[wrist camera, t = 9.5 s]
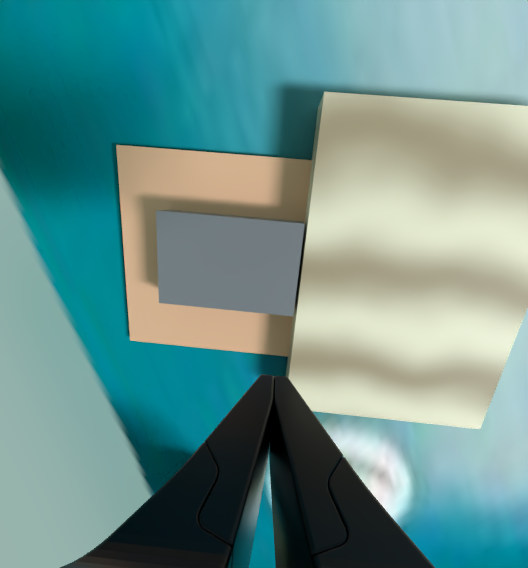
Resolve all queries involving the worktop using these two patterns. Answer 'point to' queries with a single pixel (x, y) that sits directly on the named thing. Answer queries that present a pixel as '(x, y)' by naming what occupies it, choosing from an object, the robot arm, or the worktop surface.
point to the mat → (208, 199)
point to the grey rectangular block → (228, 261)
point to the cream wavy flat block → (411, 258)
